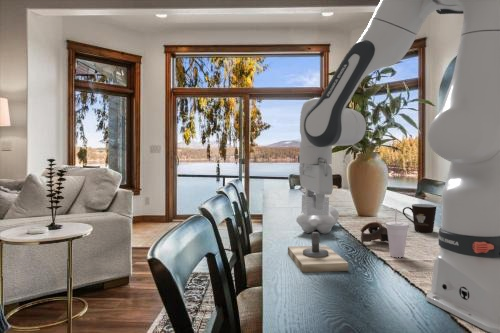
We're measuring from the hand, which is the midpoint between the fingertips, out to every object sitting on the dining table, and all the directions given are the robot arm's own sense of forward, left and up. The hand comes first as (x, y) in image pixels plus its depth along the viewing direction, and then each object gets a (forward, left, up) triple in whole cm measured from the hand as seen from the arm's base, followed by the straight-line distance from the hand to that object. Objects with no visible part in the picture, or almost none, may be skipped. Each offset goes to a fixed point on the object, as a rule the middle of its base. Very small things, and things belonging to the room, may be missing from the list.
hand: (314, 207), depth 102 cm
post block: (0, 0, -15) cm, 15 cm away
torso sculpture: (+40, -13, -16) cm, 45 cm away
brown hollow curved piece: (+18, -26, -16) cm, 35 cm away
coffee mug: (+35, -52, -15) cm, 65 cm away
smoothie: (+2, -25, -15) cm, 30 cm away
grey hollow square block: (0, 0, -2) cm, 2 cm away
